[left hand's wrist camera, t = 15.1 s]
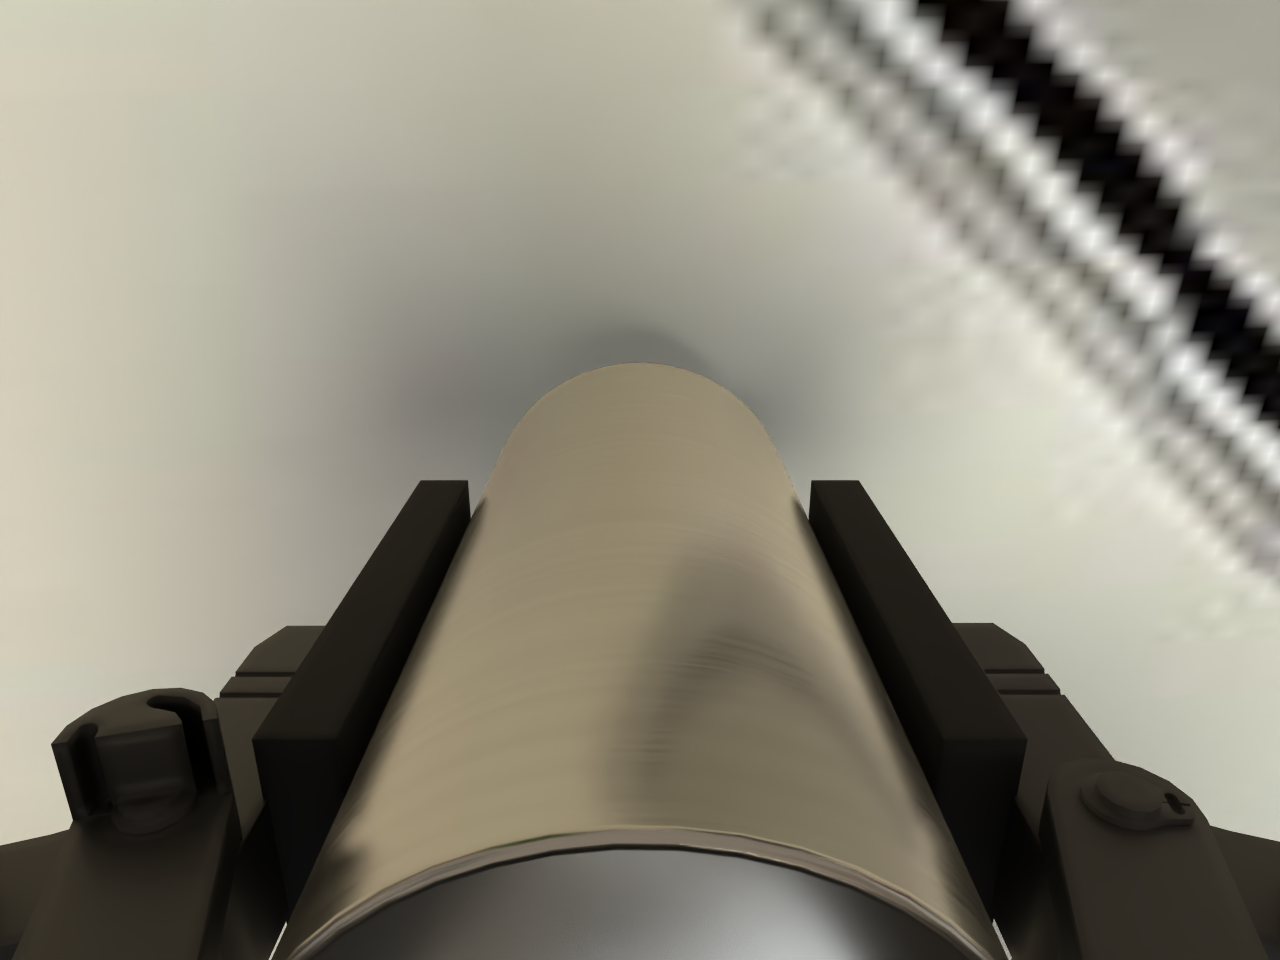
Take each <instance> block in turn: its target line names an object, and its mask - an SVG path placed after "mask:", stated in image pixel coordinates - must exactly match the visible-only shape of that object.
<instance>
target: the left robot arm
mask: <svg viewBox="0 0 1280 960" xmlns="http://www.w3.org/2000/svg"><path fill="white" fill-rule="evenodd" d="M470 520H471V515H470V502H469V489H468V480H421V481H420V482H419V484H418V485H417V487H416V488H415V490H414V492H413V493H412V495H411V496H410V498H409V499H408V501H407V502H406V504H405V505H404V507H403V508H402V510H401V511H400V513H399V514H398V516H397V518H396V519H395V521H394V522H393V524H392V525H391V527H390V528H389V530H388V531H387V533H386V534H385V536H384V537H383V539H382V540H381V542H380V544H379V545H378V547H377V548H376V550H375V551H374V553H373V554H372V556H371V557H370V559H369V560H368V562H367V563H366V565H365V566H364V568H363V569H362V571H361V573H360V574H359V576H358V577H357V579H356V580H355V582H354V583H353V585H352V586H351V588H350V589H349V591H348V592H347V594H346V595H345V597H344V599H343V600H342V602H341V603H340V605H339V606H338V608H337V609H336V611H335V612H334V614H333V615H332V617H331V618H330V620H329V621H328V623H327V625H326V626H286V627H284V628H283V629H281V630H280V631H278V632H277V633H275V634H274V635H272V636H271V637H269V638H268V639H266V640H265V641H263V642H262V643H260V644H259V645H257V646H256V647H254V649H253V650H252V651H251V653H250V654H249V655H248V656H247V658H246V659H245V660H244V662H243V663H242V664H241V666H240V667H239V668H238V670H237V671H236V675H235V677H231V679H230V680H229V681H228V683H227V684H226V685H225V686H224V688H223V689H222V690H221V692H220V697H219V698H215V699H214V701H213V700H211V699H210V698H209V697H208V696H206V695H205V694H204V693H202V692H198V691H193V690H188V689H184V688H168V689H152V690H147V691H143V692H139V693H135V694H130V695H126V696H122V697H119V698H117V699H115V700H112V701H110V702H108V703H105V704H103V705H100V706H98V707H96V708H93V709H91V710H90V711H88V712H87V713H85V714H84V715H82V716H81V717H79V718H78V719H76V720H75V721H73V722H72V723H70V724H69V725H67V726H66V727H65V728H64V730H63V731H62V732H61V733H60V734H59V735H58V737H57V738H56V739H55V740H54V741H53V742H52V744H51V746H52V749H53V753H54V756H55V760H56V763H57V766H58V770H59V773H60V777H61V780H62V784H63V787H64V790H65V794H66V797H67V801H68V804H69V808H70V811H71V815H72V818H73V822H72V824H71V826H70V829H69V830H65V831H62V832H58V833H55V834H51V835H47V836H42V837H38V838H33V839H29V840H24V841H20V842H15V843H10V844H6V845H1V846H0V960H269V957H270V955H271V953H272V951H273V949H274V946H275V944H276V942H277V940H278V938H279V935H280V933H281V931H282V929H283V927H284V924H285V922H287V924H288V922H289V920H290V918H291V915H292V913H293V911H294V909H295V907H296V904H297V902H298V900H299V898H300V895H301V893H302V891H303V889H304V887H305V884H306V882H307V880H308V878H309V876H310V873H311V871H312V869H313V867H314V865H315V862H316V860H317V858H318V856H319V854H320V851H321V849H322V847H323V845H324V843H325V840H326V838H327V836H328V834H329V831H330V829H331V827H332V825H333V823H334V820H335V818H336V816H337V814H338V812H339V809H340V807H341V805H342V803H343V801H344V798H345V796H346V794H347V792H348V790H349V787H350V785H351V783H352V781H353V779H354V776H355V774H356V772H357V770H358V767H359V765H360V763H361V761H362V759H363V756H364V754H365V752H366V750H367V748H368V745H369V743H370V741H371V739H372V737H373V734H374V732H375V730H376V728H377V726H378V723H379V721H380V719H381V717H382V714H383V712H384V710H385V708H386V706H387V703H388V701H389V699H390V697H391V695H392V692H393V690H394V688H395V686H396V684H397V681H398V679H399V677H400V675H401V673H402V670H403V668H404V666H405V664H406V662H407V659H408V657H409V655H410V653H411V650H412V648H413V646H414V644H415V642H416V639H417V637H418V635H419V633H420V631H421V628H422V626H423V624H424V622H425V620H426V617H427V615H428V613H429V611H430V609H431V606H432V604H433V602H434V600H435V598H436V595H437V593H438V591H439V589H440V586H441V584H442V582H443V580H444V578H445V575H446V573H447V571H448V569H449V567H450V564H451V562H452V560H453V558H454V556H455V553H456V551H457V549H458V547H459V545H460V542H461V540H462V538H463V536H464V534H465V531H466V529H467V527H468V525H469V522H470ZM809 522H810V525H811V527H812V529H813V531H814V533H815V536H816V538H817V540H818V542H819V544H820V547H821V549H822V551H823V553H824V555H825V558H826V560H827V562H828V564H829V566H830V569H831V571H832V573H833V575H834V577H835V580H836V582H837V584H838V586H839V588H840V591H841V593H842V595H843V597H844V599H845V602H846V604H847V606H848V608H849V610H850V613H851V615H852V617H853V619H854V621H855V624H856V626H857V628H858V630H859V632H860V635H861V637H862V639H863V641H864V643H865V646H866V648H867V650H868V652H869V654H870V657H871V659H872V661H873V663H874V665H875V668H876V670H877V672H878V674H879V676H880V679H881V681H882V683H883V685H884V687H885V690H886V692H887V694H888V696H889V698H890V701H891V703H892V705H893V707H894V709H895V712H896V714H897V716H898V718H899V720H900V723H901V725H902V727H903V729H904V731H905V734H906V736H907V738H908V740H909V742H910V745H911V747H912V749H913V751H914V753H915V756H916V758H917V760H918V762H919V764H920V767H921V769H922V771H923V773H924V775H925V778H926V780H927V782H928V784H929V786H930V789H931V791H932V793H933V795H934V797H935V800H936V802H937V804H938V806H939V808H940V811H941V813H942V815H943V817H944V819H945V822H946V824H947V826H948V828H949V830H950V833H951V835H952V837H953V839H954V841H955V844H956V846H957V848H958V850H959V852H960V855H961V857H962V859H963V861H964V863H965V866H966V868H967V870H968V872H969V874H970V877H971V879H972V881H973V883H974V885H975V888H976V890H977V892H978V894H979V896H980V899H981V901H982V903H983V905H984V907H985V910H986V912H987V914H988V916H989V918H990V921H991V923H992V924H993V918H994V919H995V921H996V924H997V926H998V928H999V930H1000V932H1001V934H1002V937H1003V939H1004V941H1005V943H1006V945H1007V948H1008V950H1009V952H1010V954H1011V956H1012V960H1280V842H1278V841H1274V840H1269V839H1264V838H1260V837H1255V836H1250V835H1246V834H1241V833H1237V832H1232V831H1228V830H1224V829H1221V828H1217V827H1214V826H1210V825H1209V823H1208V820H1207V819H1206V817H1205V816H1204V814H1203V813H1202V812H1201V810H1200V809H1199V808H1198V806H1197V805H1196V803H1195V802H1194V801H1193V799H1191V798H1190V797H1189V796H1188V795H1186V794H1185V793H1184V792H1182V791H1181V790H1180V789H1178V788H1177V787H1176V786H1175V785H1173V784H1172V783H1171V782H1169V781H1167V780H1165V779H1163V778H1161V777H1159V776H1157V775H1155V774H1153V773H1151V772H1149V771H1147V770H1145V769H1142V768H1140V767H1137V766H1133V765H1129V764H1125V763H1122V762H1118V761H1115V760H1114V758H1113V757H1112V756H1111V755H1110V753H1109V752H1108V751H1107V749H1106V748H1105V747H1104V745H1103V744H1102V743H1101V742H1100V740H1099V739H1098V738H1097V736H1096V735H1095V734H1094V733H1093V731H1092V730H1091V729H1090V727H1089V726H1088V725H1087V724H1086V722H1085V721H1084V720H1083V718H1082V717H1081V716H1080V714H1079V713H1078V712H1077V711H1076V709H1075V708H1074V707H1073V705H1072V704H1071V703H1070V702H1069V700H1068V699H1067V698H1066V696H1065V695H1061V694H1060V689H1059V687H1058V686H1057V685H1056V683H1055V682H1054V681H1053V680H1052V678H1051V677H1050V676H1049V674H1045V673H1044V668H1043V667H1042V665H1041V664H1040V663H1039V661H1038V660H1037V659H1036V658H1035V656H1034V655H1033V654H1032V652H1031V651H1030V650H1029V648H1028V647H1027V646H1026V645H1025V644H1024V643H1023V642H1021V641H1020V640H1018V639H1016V638H1015V637H1013V636H1012V635H1010V634H1009V633H1007V632H1006V631H1004V630H1003V629H1001V628H1000V627H998V626H997V625H995V624H994V623H952V622H951V621H950V619H949V618H948V616H947V615H946V613H945V612H944V610H943V609H942V607H941V606H940V604H939V603H938V601H937V600H936V598H935V596H934V595H933V593H932V592H931V590H930V589H929V587H928V586H927V584H926V583H925V581H924V580H923V578H922V577H921V575H920V574H919V572H918V570H917V569H916V567H915V566H914V564H913V563H912V561H911V560H910V558H909V557H908V555H907V554H906V552H905V551H904V549H903V548H902V546H901V544H900V543H899V541H898V540H897V538H896V537H895V535H894V534H893V532H892V531H891V529H890V528H889V526H888V525H887V523H886V522H885V520H884V518H883V517H882V515H881V514H880V512H879V511H878V509H877V508H876V506H875V505H874V503H873V502H872V500H871V499H870V497H869V496H868V494H867V492H866V491H865V489H864V488H863V486H862V485H861V483H860V482H859V480H812V481H811V494H810V508H809Z"/></svg>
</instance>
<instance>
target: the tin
mask: <svg viewBox="0 0 1280 960" xmlns="http://www.w3.org/2000/svg"><path fill="white" fill-rule="evenodd" d="M271 960H1008V958H1007V956H1006V954H1005V951H1004V949H1003V947H1002V945H1001V943H1000V940H999V938H998V936H997V934H996V932H995V929H994V927H993V925H992V923H991V921H990V918H989V916H988V914H987V912H986V910H985V907H984V905H983V903H982V901H981V899H980V896H979V894H978V892H977V890H976V888H975V885H974V883H973V881H972V879H971V877H970V874H969V872H968V870H967V868H966V866H965V863H964V861H963V859H962V857H961V855H960V852H959V850H958V848H957V846H956V844H955V841H954V839H953V837H952V835H951V833H950V830H949V828H948V826H947V824H946V822H945V819H944V817H943V815H942V813H941V811H940V808H939V806H938V804H937V802H936V800H935V797H934V795H933V793H932V791H931V789H930V786H929V784H928V782H927V780H926V778H925V775H924V773H923V771H922V769H921V767H920V764H919V762H918V760H917V758H916V756H915V753H914V751H913V749H912V747H911V745H910V742H909V740H908V738H907V736H906V734H905V731H904V729H903V727H902V725H901V723H900V720H899V718H898V716H897V714H896V712H895V709H894V707H893V705H892V703H891V701H890V698H889V696H888V694H887V692H886V690H885V687H884V685H883V683H882V681H881V679H880V676H879V674H878V672H877V670H876V668H875V665H874V663H873V661H872V659H871V657H870V654H869V652H868V650H867V648H866V646H865V643H864V641H863V639H862V637H861V635H860V632H859V630H858V628H857V626H856V624H855V621H854V619H853V617H852V615H851V613H850V610H849V608H848V606H847V604H846V602H845V599H844V597H843V595H842V593H841V591H840V588H839V586H838V584H837V582H836V580H835V577H834V575H833V573H832V571H831V569H830V566H829V564H828V562H827V560H826V558H825V555H824V553H823V551H822V549H821V547H820V544H819V542H818V540H817V538H816V536H815V533H814V531H813V529H812V527H811V525H810V522H809V520H808V518H807V516H806V514H805V511H804V509H803V507H802V505H801V503H800V500H799V498H798V496H797V494H796V492H795V489H794V487H793V485H792V483H791V481H790V478H789V476H788V474H787V472H786V470H785V467H784V465H783V463H782V461H781V459H780V456H779V454H778V452H777V450H776V448H775V446H774V444H773V442H772V440H771V438H770V436H769V434H768V432H767V431H766V429H765V428H764V426H763V425H762V424H761V422H760V421H759V420H758V418H757V417H756V415H755V414H754V413H753V412H752V411H751V410H750V409H749V408H748V407H747V406H746V405H745V404H744V403H743V402H742V401H741V400H740V399H738V398H737V397H736V396H735V395H733V394H732V393H731V392H730V391H728V390H727V389H725V388H724V387H722V386H720V385H719V384H717V383H715V382H714V381H712V380H710V379H708V378H706V377H703V376H701V375H699V374H696V373H694V372H692V371H688V370H685V369H681V368H677V367H674V366H669V365H662V364H655V363H625V364H617V365H610V366H606V367H602V368H598V369H594V370H590V371H588V372H585V373H583V374H580V375H578V376H575V377H573V378H571V379H569V380H567V381H565V382H564V383H562V384H560V385H558V386H556V387H555V388H554V389H552V390H551V391H550V392H548V393H547V394H545V395H544V396H543V397H541V398H540V399H539V400H538V401H537V402H536V403H535V404H534V405H533V406H532V407H531V408H530V409H529V410H528V411H527V412H526V413H525V414H524V416H523V417H522V418H521V419H520V421H519V422H518V423H517V425H516V426H515V427H514V429H513V431H512V433H511V434H510V436H509V438H508V440H507V441H506V443H505V445H504V447H503V450H502V452H501V454H500V456H499V458H498V461H497V463H496V465H495V467H494V469H493V472H492V474H491V476H490V478H489V481H488V483H487V485H486V487H485V489H484V492H483V494H482V496H481V498H480V500H479V503H478V505H477V507H476V509H475V511H474V514H473V516H472V518H471V520H470V522H469V525H468V527H467V529H466V531H465V534H464V536H463V538H462V540H461V542H460V545H459V547H458V549H457V551H456V553H455V556H454V558H453V560H452V562H451V564H450V567H449V569H448V571H447V573H446V575H445V578H444V580H443V582H442V584H441V586H440V589H439V591H438V593H437V595H436V598H435V600H434V602H433V604H432V606H431V609H430V611H429V613H428V615H427V617H426V620H425V622H424V624H423V626H422V628H421V631H420V633H419V635H418V637H417V639H416V642H415V644H414V646H413V648H412V650H411V653H410V655H409V657H408V659H407V662H406V664H405V666H404V668H403V670H402V673H401V675H400V677H399V679H398V681H397V684H396V686H395V688H394V690H393V692H392V695H391V697H390V699H389V701H388V703H387V706H386V708H385V710H384V712H383V714H382V717H381V719H380V721H379V723H378V726H377V728H376V730H375V732H374V734H373V737H372V739H371V741H370V743H369V745H368V748H367V750H366V752H365V754H364V756H363V759H362V761H361V763H360V765H359V767H358V770H357V772H356V774H355V776H354V779H353V781H352V783H351V785H350V787H349V790H348V792H347V794H346V796H345V798H344V801H343V803H342V805H341V807H340V809H339V812H338V814H337V816H336V818H335V820H334V823H333V825H332V827H331V829H330V831H329V834H328V836H327V838H326V840H325V843H324V845H323V847H322V849H321V851H320V854H319V856H318V858H317V860H316V862H315V865H314V867H313V869H312V871H311V873H310V876H309V878H308V880H307V882H306V884H305V887H304V889H303V891H302V893H301V895H300V898H299V900H298V902H297V904H296V907H295V909H294V911H293V913H292V915H291V918H290V920H289V922H288V924H287V926H286V929H285V931H284V933H283V935H282V937H281V940H280V942H279V944H278V946H277V948H276V951H275V953H274V955H273V957H272V959H271Z"/></svg>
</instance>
